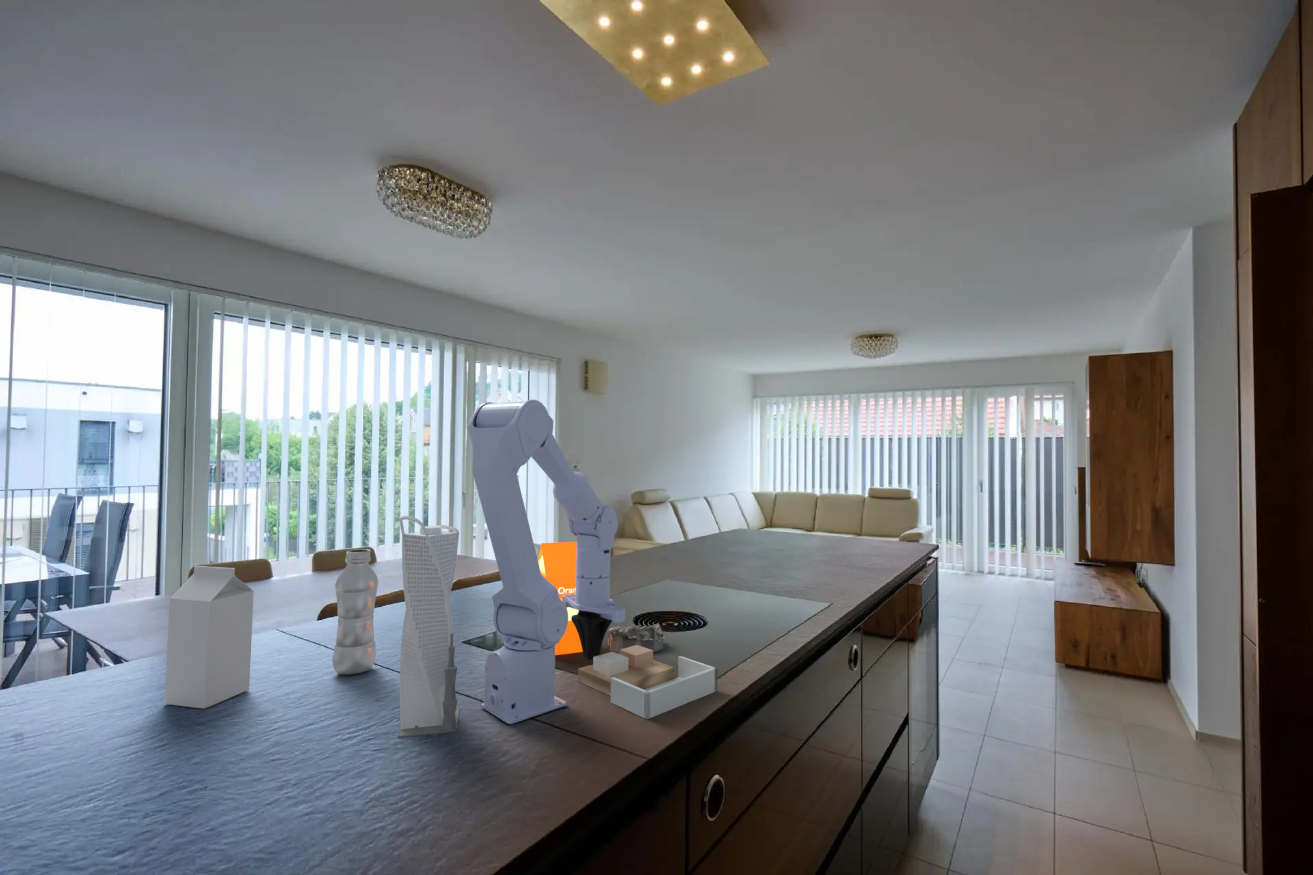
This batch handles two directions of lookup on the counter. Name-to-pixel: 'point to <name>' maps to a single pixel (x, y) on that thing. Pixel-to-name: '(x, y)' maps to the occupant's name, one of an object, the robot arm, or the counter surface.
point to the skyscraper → (428, 632)
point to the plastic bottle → (355, 614)
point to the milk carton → (209, 639)
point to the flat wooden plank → (627, 676)
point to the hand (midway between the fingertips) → (591, 657)
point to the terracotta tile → (637, 655)
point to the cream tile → (610, 663)
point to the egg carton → (635, 637)
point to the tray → (666, 690)
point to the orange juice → (562, 586)
